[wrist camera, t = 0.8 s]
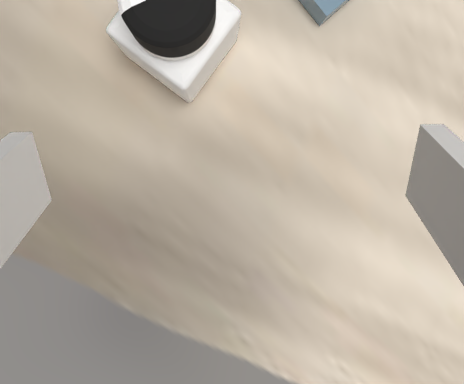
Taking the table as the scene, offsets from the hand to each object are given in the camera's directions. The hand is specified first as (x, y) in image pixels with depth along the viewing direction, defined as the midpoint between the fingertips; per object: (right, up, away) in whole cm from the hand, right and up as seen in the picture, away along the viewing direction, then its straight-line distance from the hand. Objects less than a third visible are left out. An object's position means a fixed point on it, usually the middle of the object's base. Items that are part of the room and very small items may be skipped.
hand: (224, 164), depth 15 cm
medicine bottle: (-4, +12, +23) cm, 26 cm away
